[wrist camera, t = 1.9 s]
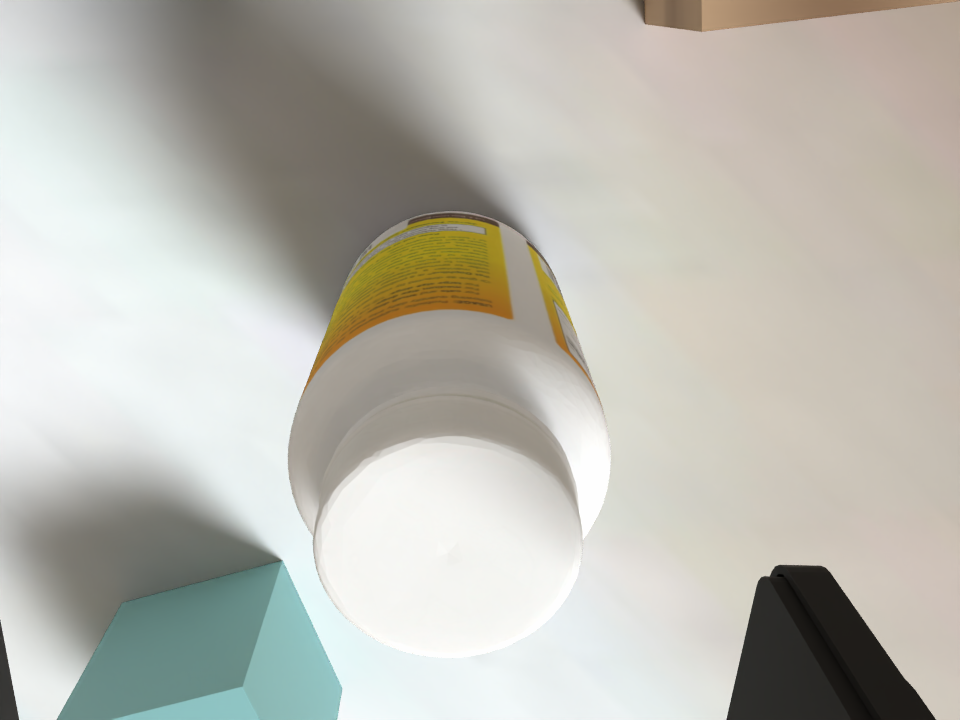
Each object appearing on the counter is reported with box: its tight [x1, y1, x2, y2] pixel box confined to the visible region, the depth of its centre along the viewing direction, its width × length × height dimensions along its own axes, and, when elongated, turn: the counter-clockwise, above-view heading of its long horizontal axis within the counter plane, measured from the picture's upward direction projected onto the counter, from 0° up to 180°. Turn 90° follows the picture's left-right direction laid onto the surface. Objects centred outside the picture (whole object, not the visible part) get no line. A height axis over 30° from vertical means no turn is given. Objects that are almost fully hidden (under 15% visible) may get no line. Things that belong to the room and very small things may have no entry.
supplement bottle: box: [288, 211, 611, 658], centre depth 17 cm, size 6×6×10 cm
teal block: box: [57, 560, 342, 720], centre depth 24 cm, size 5×5×5 cm
